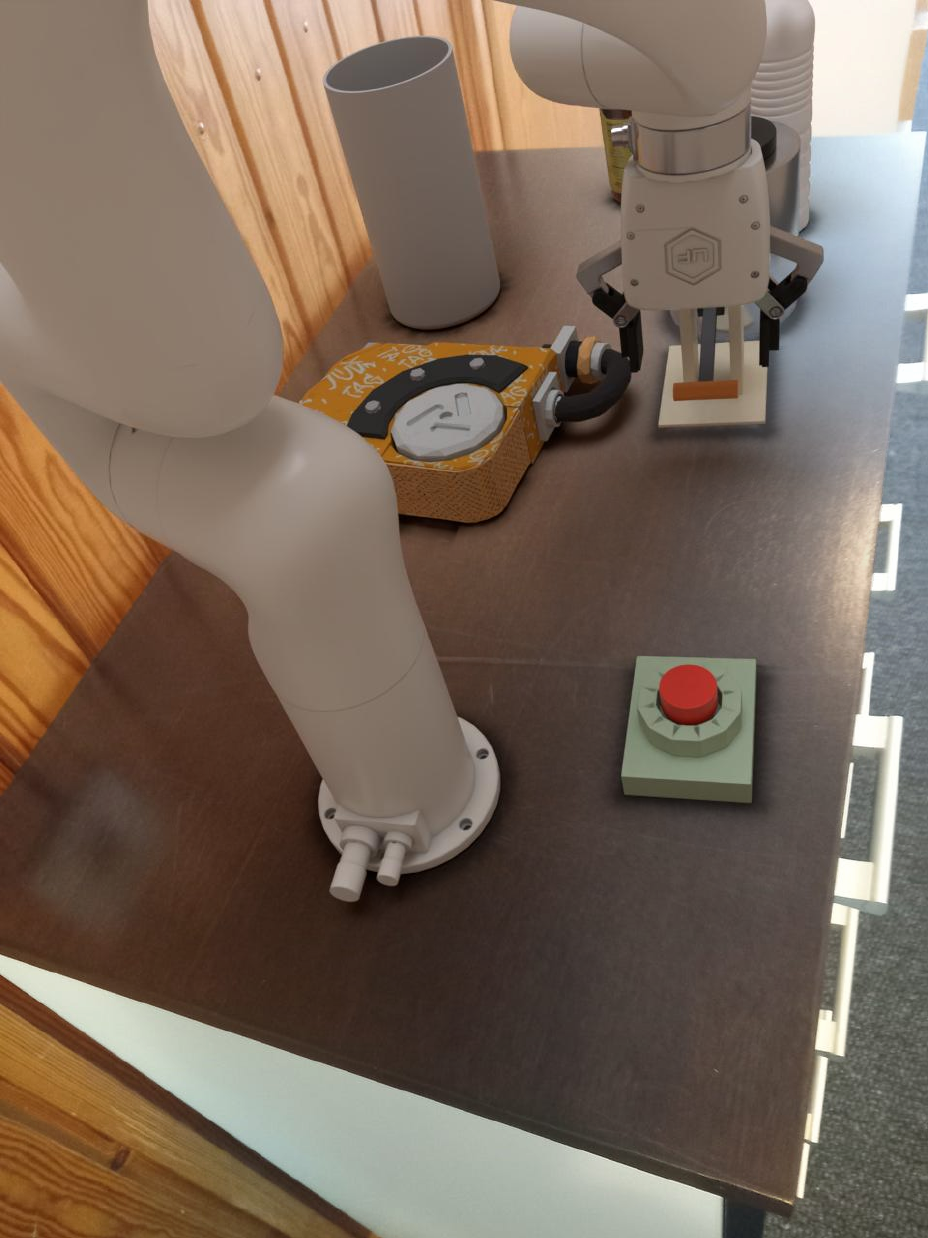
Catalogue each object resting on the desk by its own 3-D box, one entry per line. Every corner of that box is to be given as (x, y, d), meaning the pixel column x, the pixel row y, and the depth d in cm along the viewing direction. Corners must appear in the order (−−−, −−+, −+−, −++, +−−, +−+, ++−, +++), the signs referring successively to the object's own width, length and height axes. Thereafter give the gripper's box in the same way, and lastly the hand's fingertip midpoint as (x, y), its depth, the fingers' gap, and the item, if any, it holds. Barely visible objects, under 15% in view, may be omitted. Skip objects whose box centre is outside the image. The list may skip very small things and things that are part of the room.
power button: (716, 726, 65) (715, 709, 64) (658, 724, 66) (656, 707, 65) (719, 681, 67) (718, 664, 66) (663, 679, 68) (661, 663, 67)
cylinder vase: (472, 336, 108) (414, 90, 90) (371, 328, 113) (298, 94, 96) (519, 272, 115) (474, 31, 97) (422, 268, 120) (362, 39, 102)
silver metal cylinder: (796, 342, 96) (801, 160, 83) (665, 350, 99) (651, 176, 87) (797, 263, 105) (801, 87, 92) (676, 272, 108) (665, 104, 96)
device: (349, 297, 102) (640, 308, 90) (372, 367, 108) (648, 387, 96) (230, 441, 90) (550, 477, 77) (263, 511, 96) (566, 556, 83)
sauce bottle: (637, 177, 124) (620, -4, 110) (676, 188, 120) (664, 2, 106) (598, 201, 122) (576, 20, 108) (636, 214, 118) (619, 27, 104)
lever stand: (765, 432, 88) (765, 310, 80) (659, 435, 91) (648, 318, 82) (768, 350, 96) (768, 231, 87) (670, 356, 98) (661, 241, 90)
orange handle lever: (738, 405, 82) (737, 386, 80) (674, 408, 84) (671, 389, 81) (742, 288, 87) (742, 267, 85) (682, 292, 89) (680, 272, 86)
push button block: (751, 803, 65) (751, 767, 62) (624, 795, 67) (618, 760, 64) (756, 679, 71) (755, 641, 68) (639, 675, 73) (634, 638, 71)
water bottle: (744, 214, 113) (740, -43, 95) (806, 205, 112) (814, -57, 94) (747, 254, 108) (744, -10, 90) (813, 246, 106) (823, -25, 88)
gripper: (553, 173, 68) (582, 392, 80) (832, 146, 63) (818, 383, 75) (570, 126, 73) (594, 339, 85) (830, 96, 68) (817, 327, 80)
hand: (699, 359), depth 80 cm, fingers open, 9 cm apart
